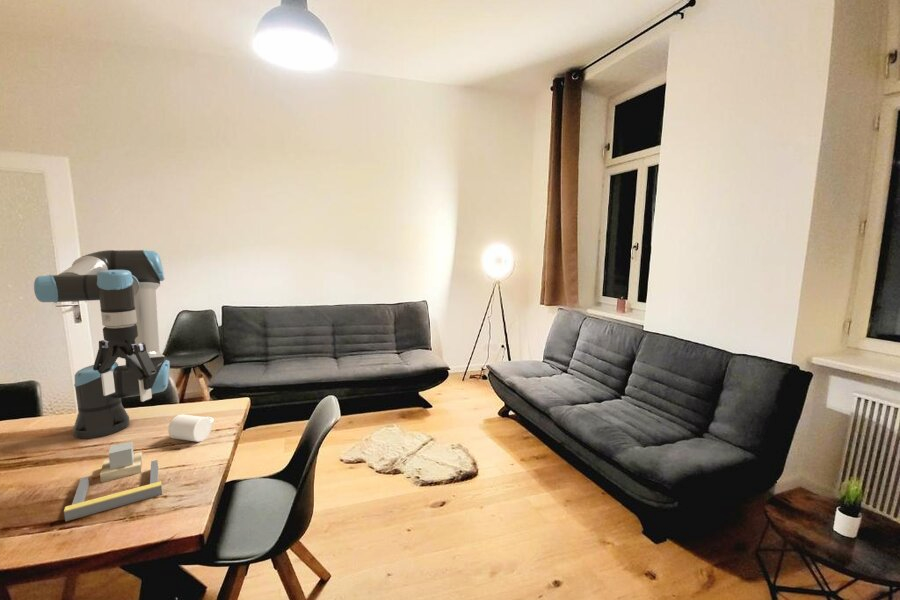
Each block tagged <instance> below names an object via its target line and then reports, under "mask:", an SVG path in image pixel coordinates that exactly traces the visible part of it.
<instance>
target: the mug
mask: <svg viewBox="0 0 900 600" xmlns="http://www.w3.org/2000/svg"><path fill="white" fill-rule="evenodd" d="M214 422H215V419H214V418H213V417H211V416H198V415H192V414H191V415H190V414H182V413H181V414H178V415H176V416H175V417H173V419H171V421H170V423H169V425H168V429H167V432H168V436H169V437H170V438H172V439H175V440H182V441H188V442H189V441H190V442H198V443H199V442H203V441H205V440H206V439H207V438H208V437H209V435H210V434H211V431H212V426H213V425H212V424H213V423H214Z"/></svg>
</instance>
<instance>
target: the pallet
mask: <svg viewBox="0 0 900 600" xmlns="http://www.w3.org/2000/svg"><path fill="white" fill-rule="evenodd" d="M143 457H144V456H143V451H140V452H139V451H138V452H134V460H133V465H130V466H125V467H121V468H117V469H112V470H110V461H109V458H106V459H104V460H103V462H102V465H101V469H100V473H99V476H100V477H99V478H100V483H105V482H108V481H110V482H111V481H114V480H117V479H120V478H126V477H128V476H132V475H136V474H137V475H138V474H141V473H142V469H143V460H144V459H143Z"/></svg>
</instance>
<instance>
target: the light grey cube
mask: <svg viewBox="0 0 900 600" xmlns="http://www.w3.org/2000/svg"><path fill="white" fill-rule="evenodd" d="M134 453H135V452H134V442H133V441H129V442H125V443H120V444H115V445H110V448H109V451H108V459H109V461H110V470H112V469H117V468H121V467H125V466H130V465H133V460H134Z"/></svg>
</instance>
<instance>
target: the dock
mask: <svg viewBox="0 0 900 600" xmlns="http://www.w3.org/2000/svg"><path fill="white" fill-rule="evenodd" d="M158 464H159V462H158V459H156V460H152V461H151V462H150V474H149V475H150V478H149V484H144V485H142V486H138V487H134V488H130V489H127V490H123V491H119V492H114V493H112V494H108V495H104V496H99V497H96V498H92V499H89V500H86V498H87V497H86V496H87V493H88V491H89V487H90V480H89V476H85V477H81V478H80V480H79V483H78V486H77V487H76V492H75V495H74V497H73V500H72V503H71V504H70V505H67V506H64V510H63V514H64V520H65V522H70V521H72V520H75V519H80V518H83V517H86V516H89V515H90V516H91V515H93V514H98V513H100V512H105V511H108V510H111V509H115V508H118V507H119V508H120V507H123V506H126V505H129V504H132V503H136V502H140V501H144V500H146V499H147V500H148V499H151V498H154V497H157V496H158V497H159V496H162V495H163V488H162V486H163V485H162V480H160V481H159V465H158Z"/></svg>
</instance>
